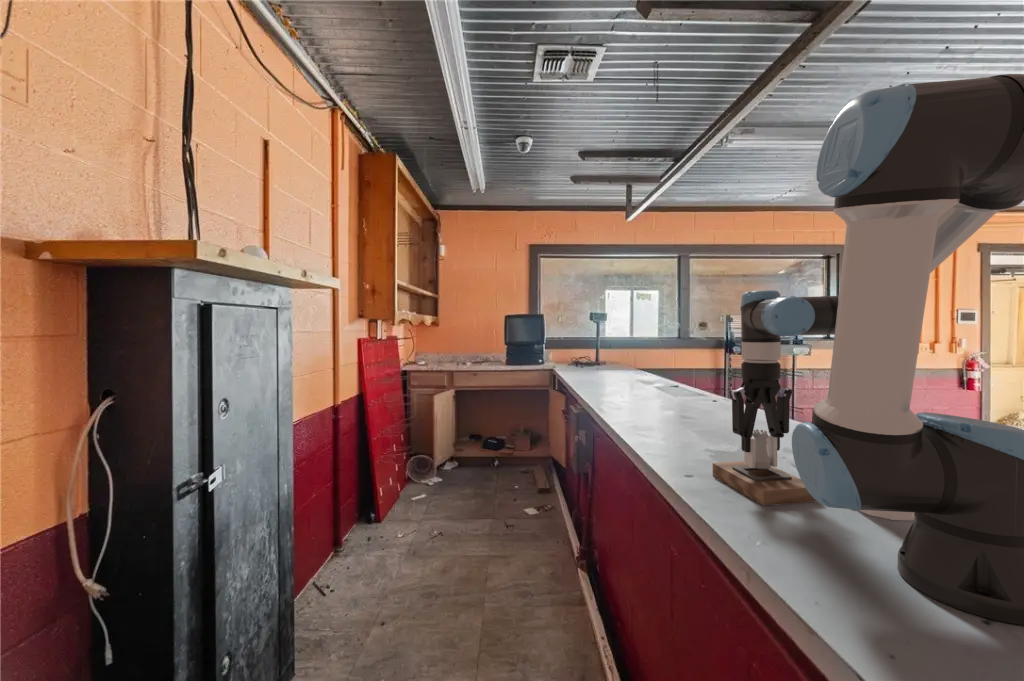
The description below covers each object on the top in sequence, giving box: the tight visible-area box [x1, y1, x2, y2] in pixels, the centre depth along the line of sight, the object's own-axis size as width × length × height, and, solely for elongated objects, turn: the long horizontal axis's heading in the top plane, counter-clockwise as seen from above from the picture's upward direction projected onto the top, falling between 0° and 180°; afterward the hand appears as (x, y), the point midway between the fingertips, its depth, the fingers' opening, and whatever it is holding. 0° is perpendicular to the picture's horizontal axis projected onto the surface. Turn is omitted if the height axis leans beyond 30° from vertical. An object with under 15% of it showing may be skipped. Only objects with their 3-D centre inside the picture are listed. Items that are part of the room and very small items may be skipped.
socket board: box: [712, 460, 819, 506], centre depth 96 cm, size 18×12×4 cm, turn 6°
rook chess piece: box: [752, 429, 772, 469], centre depth 96 cm, size 4×4×8 cm
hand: (760, 465), depth 96 cm, fingers closed on rook chess piece, 4 cm apart
